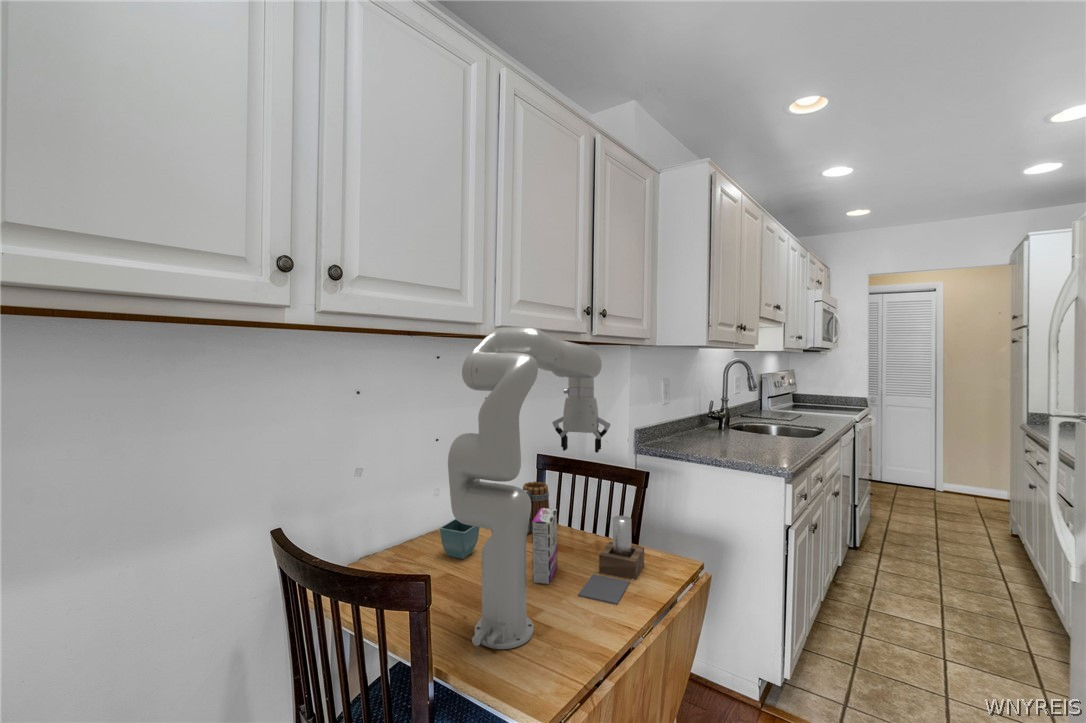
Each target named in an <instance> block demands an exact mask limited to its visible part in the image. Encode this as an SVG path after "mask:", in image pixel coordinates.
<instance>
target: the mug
mask: <svg viewBox="0 0 1086 723" xmlns="http://www.w3.org/2000/svg"><path fill="white" fill-rule="evenodd" d="M522 490H524V491H525V492H526V493H527V494H528V495H529V497H530V500H531V513H530V518H529V524H528V531H527V534H531V533H532V521H533V520H534V518H535V517H536V515H537V513H538V512H539V510H540V509H541V508H550V498H549V497H550V493H549V492H550V491H549V487H548V484H546V482H542V481H538V482H537V481H529V482H528V481H527V482H526V483H524V484H523V486H522Z"/></svg>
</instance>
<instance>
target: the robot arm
mask: <svg viewBox="0 0 1086 723" xmlns="http://www.w3.org/2000/svg"><path fill="white" fill-rule="evenodd" d="M539 369H540V370H543V371H548V372H552V374H553V375H554V376H556V377H559V378H568V380H567V381H568V382H567V383H568V387H567V388H564V389H563V394H566V395H567V397H565V400H564V404H563V405H564V407H563V416H561V417H559V418H558V419H556V420H553V421H552V426H553V428H554V430H555V432H556V433H557V434H558V435H559V437H560V439H561V440H560V441H561V444H560V446H561V448H562V451H563V452H565V451H566V450H568V445H569V444H568V438H569V437H568V433H586V434H587V433H588V434H590V433H592V434H593V435H594V436H595V439H594V452H595V453H596V454H597V453H599V452H600V450H601V449H602V438H603V437H604V436H605V435H606V434H607V433H608V431H609V429H610V427H611V423H610V422H608V421H607V420H604V419H603V418H601V417H599V408H598V401H597V398H596V397H595V391H594V390H595V378H596V377H598V376H599V374H600V372H601V370H602V358H601V356H600V354H599V352H597V351H596V350H595V349H594V348H592V347H590V346H588V345H583V344H579V343H576V342H572V341H567V340H563V339H558V338H555V337H554V336H552V335H549V334H548V333H546V332H544V331H542V330H541V329H538V328H536V327H532V326H514V327H513V326H511V327H508V326H506V327H505V326H504V327H499V328H496V329H494V330H492V331H491V332H490V333H489V334H487V335H486V336H485V337H484V338H483V339H482V340H481V341H480V342H479V343H478V345H476V346H475V347H474V348H473V349H472V350H471V351H470V352H469V354H468V355H467V356H466V357H465V360H464V361H463V364H462V368H461V377H462V381H463V382H464V384H465V385H466V387H468V388H469V389H471V390H474V391H480V392H490V393H489V394H488V395H487V396H486V398H485V399H484V401H483V402H482V404H481V406H480V408H479V411H478V415H477V416H478V420H477V422H478V433H475V432H468V433H462V434H460V435H458V436H457V437H455V439H454V440H453V441H452V443H451V444H450V448H449V451H448V455H447V456H448V457H447V471H448V472H447V473H448V482H449V483H448V484H449V497H450V498H449V499H450V505H451V511H452V515H453V517H454V519H456V520H457V521H459V522H460V523H463V524H466V525H470V526H476V527H479V528H481V529H485V530H489V531H490V532H491V535H490V537H489V538H487V540H486V542H485V543H484V545H483V548H482V550H481V618H480V619H479V620H478V621H477V622H476V624H475V626H474V635H473V636H472V638H471V642H472V644H473V645H474V646H476V647H478V646H480V645H482V646H485V647H487V648H490V649H493V650H494V649H495V650H508V649H509V650H510V649H513V648H517V647H521V646H522V645H524V644H526V643H527V642H528V641H530V640H531V639H532V637H533V635H534V623H533V621H532V620H531V618H529V617H528V616H527V542H528V540H527V539H528V533H527V531H528V524H529V518H530V513H531V500H530V497H529V495H528V494H527V493H526V492H525V491H524V490H523V488H520V487H517V486H515V485H510V484H505V483H501V482H511V481H514V480H515V479H516V478H517V477H519V474H520V472H521V468H522V454H521V453H522V451H521V436H520V434H521V433H520V413H521V409H522V405H523V404H524V401H525V400H526V397H527V396H528V394H529V393H530V391H531V389H532V387H534V384H535V383H536V381H537V377H538V371H539ZM560 423H562V428H561V427H560V425H559V424H560ZM600 425H602V426H603V427H604V428H603V429H602V430H601V431H600V430H599V427H600ZM480 480H484V481H480ZM488 481H490V482H488ZM496 482H500V483H496Z"/></svg>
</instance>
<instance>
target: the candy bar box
mask: <svg viewBox="0 0 1086 723" xmlns="http://www.w3.org/2000/svg"><path fill="white" fill-rule="evenodd" d="M557 511H558V509H557V508H550V507H549V508H541V509H540V510H539V512H538V513H537V515H536V517H535V518H534V520H533V521H532V534H531V537H532V541H531V542H532V583H533V584H537V583H540V585H551V584H552V581H553V578H554V575H555V573H556V570H557V568H558V521H557V520H558V515H557V513H558V512H557Z"/></svg>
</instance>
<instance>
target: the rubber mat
mask: <svg viewBox="0 0 1086 723" xmlns="http://www.w3.org/2000/svg"><path fill="white" fill-rule="evenodd" d="M630 584H631V581H630V580H627V579H626V580H625V579H620V578H615V577H609V576H607V575H606V576H605V575H600V574H595V573H593V574H592V575H591V576H590V578H589V579H588V580H587V582H586V583H585V584H584V586H582V588H581V590H580V591H579V592H578V593H577V597H580V598H585V599H590V600H594V601H597V602H603V603H607V604H612V605H615V604H616V606H618V604H620V603H619V602H620V601H621V599H622V598H623V596H624V594H625V593H626V591H625V590H628V587H629V585H630ZM621 597H622V598H621Z"/></svg>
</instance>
